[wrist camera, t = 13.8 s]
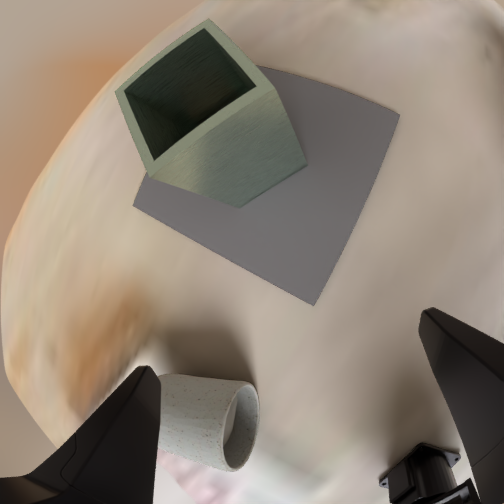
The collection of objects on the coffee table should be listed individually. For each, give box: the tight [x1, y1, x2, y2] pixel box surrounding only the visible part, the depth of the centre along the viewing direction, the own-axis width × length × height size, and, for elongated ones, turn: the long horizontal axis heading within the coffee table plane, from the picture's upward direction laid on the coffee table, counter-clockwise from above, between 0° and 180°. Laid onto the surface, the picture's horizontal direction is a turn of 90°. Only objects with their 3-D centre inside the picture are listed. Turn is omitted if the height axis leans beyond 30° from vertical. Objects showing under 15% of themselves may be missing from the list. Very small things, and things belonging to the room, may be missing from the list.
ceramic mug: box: [158, 374, 259, 472], centre depth 19 cm, size 11×8×8 cm
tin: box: [115, 19, 308, 208], centre depth 15 cm, size 6×6×11 cm
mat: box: [133, 65, 400, 306], centre depth 21 cm, size 18×16×1 cm
